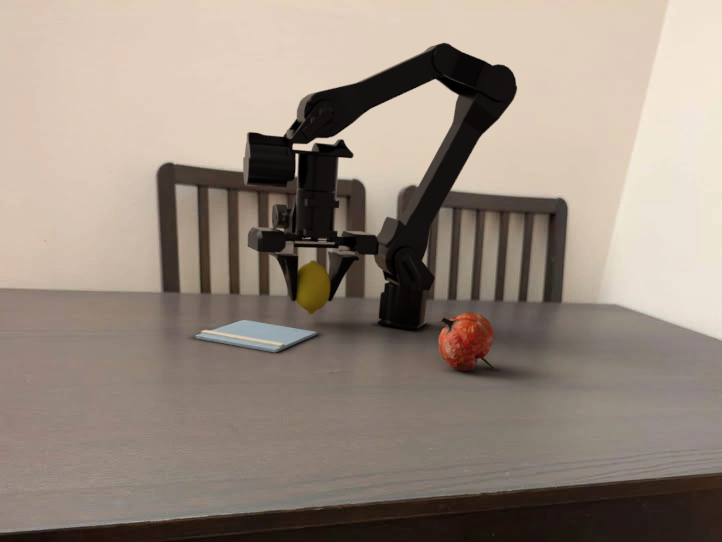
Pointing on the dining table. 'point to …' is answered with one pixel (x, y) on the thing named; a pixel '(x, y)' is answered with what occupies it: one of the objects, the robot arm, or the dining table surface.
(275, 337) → the towel
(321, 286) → the lemon
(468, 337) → the pomegranate
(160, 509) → the dining table surface
